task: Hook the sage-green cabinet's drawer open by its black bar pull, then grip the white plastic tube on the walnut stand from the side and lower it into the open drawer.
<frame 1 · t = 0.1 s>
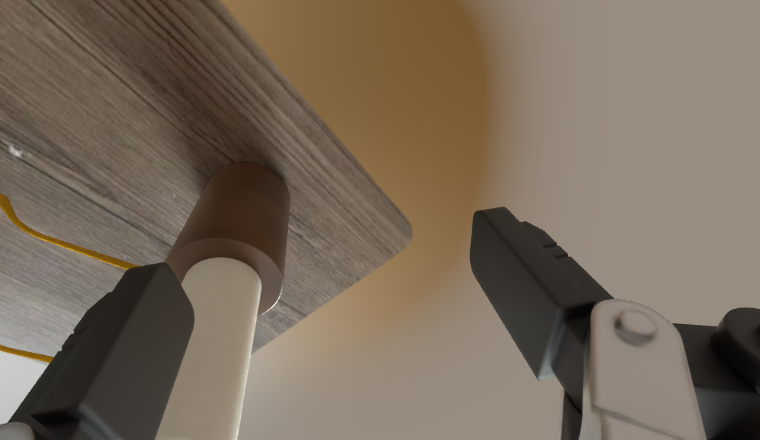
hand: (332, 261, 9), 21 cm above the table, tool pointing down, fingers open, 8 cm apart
eyeglasses: (86, 283, 32), on the table
tube: (224, 284, 21), point 11 cm above the table, touching stand
stand: (249, 199, 30), on the table
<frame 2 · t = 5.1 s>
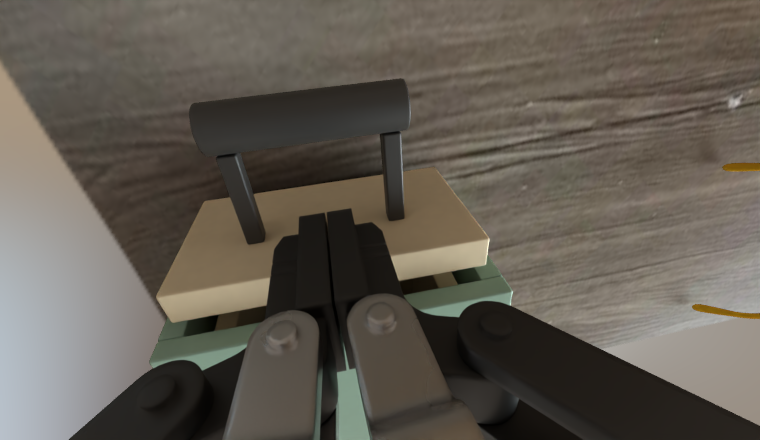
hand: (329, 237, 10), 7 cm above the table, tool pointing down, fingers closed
cabinet: (345, 299, 21), on the table
drawer: (340, 289, 15), point 4 cm above the table, slide at 0.5 cm, touching gripper
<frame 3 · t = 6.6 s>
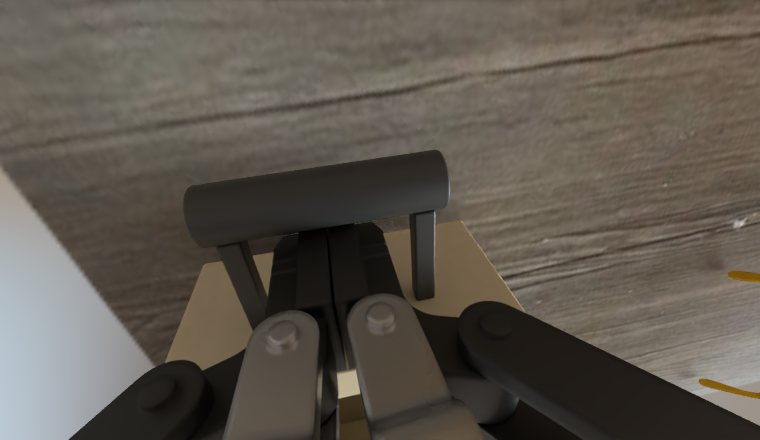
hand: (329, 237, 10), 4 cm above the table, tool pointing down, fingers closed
drawer: (357, 361, 13), point 4 cm above the table, slide at 5.4 cm, touching gripper
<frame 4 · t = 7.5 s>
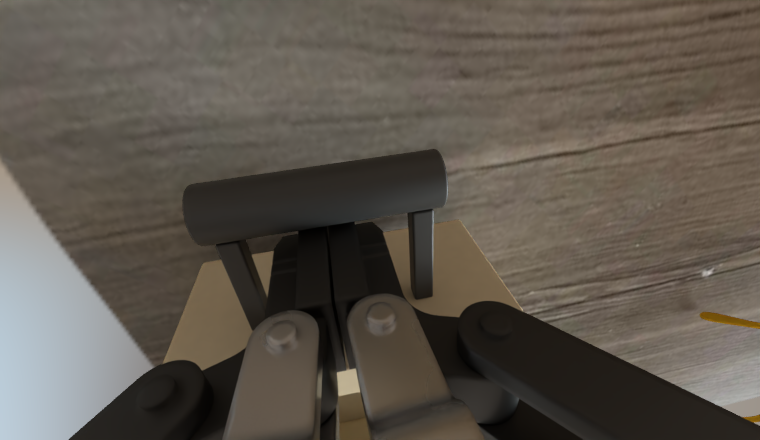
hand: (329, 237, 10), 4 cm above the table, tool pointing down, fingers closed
drawer: (355, 360, 13), point 4 cm above the table, slide at 9.1 cm, touching gripper
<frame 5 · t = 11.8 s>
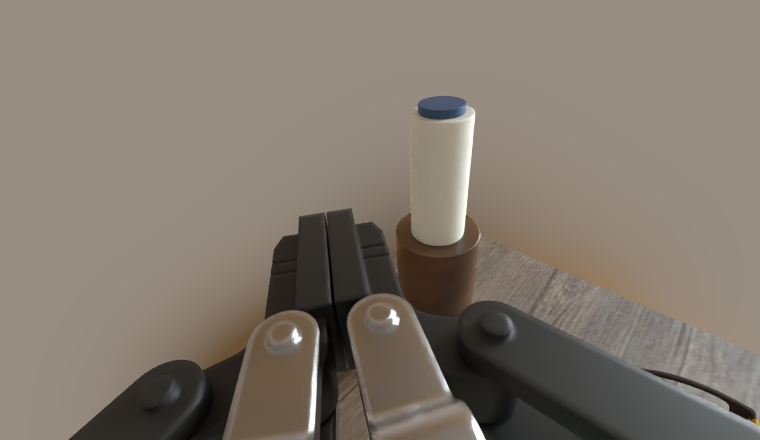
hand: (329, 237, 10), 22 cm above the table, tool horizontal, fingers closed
tube: (437, 229, 29), point 11 cm above the table, touching stand
stand: (434, 315, 35), on the table
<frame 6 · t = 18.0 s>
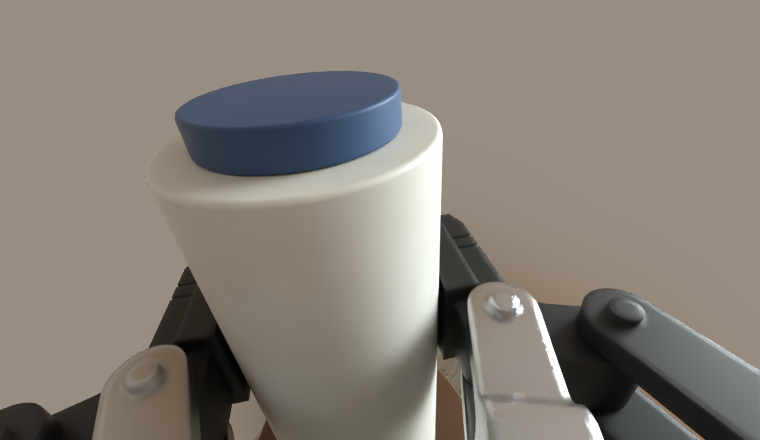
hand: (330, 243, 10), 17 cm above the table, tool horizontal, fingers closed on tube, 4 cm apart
tube: (364, 437, 11), point 11 cm above the table, touching gripper, stand
when the fingers open (9 cm above the table, at t = 29.9 s): tube drops 1 cm, resting on drawer.
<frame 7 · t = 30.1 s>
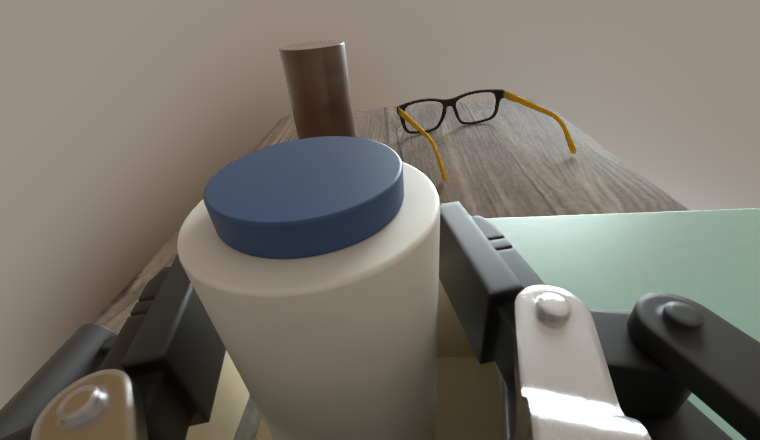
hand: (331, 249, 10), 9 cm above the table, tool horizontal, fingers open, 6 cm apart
eyeglasses: (474, 145, 39), on the table
drawer: (275, 428, 11), point 4 cm above the table, slide at 9.1 cm, touching tube
stand: (328, 142, 43), on the table
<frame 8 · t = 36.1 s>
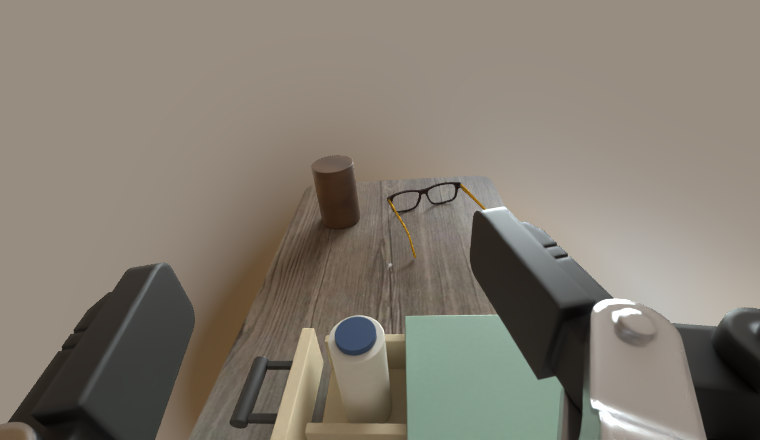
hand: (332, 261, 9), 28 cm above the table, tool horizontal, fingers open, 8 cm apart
eyeglasses: (438, 225, 59), on the table
cabinet: (481, 417, 32), on the table
drawer: (336, 394, 31), point 4 cm above the table, slide at 9.1 cm, touching tube
tube: (368, 406, 32), point 2 cm above the table, touching drawer
stand: (341, 218, 63), on the table
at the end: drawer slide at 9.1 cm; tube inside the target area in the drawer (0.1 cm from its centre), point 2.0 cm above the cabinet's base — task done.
